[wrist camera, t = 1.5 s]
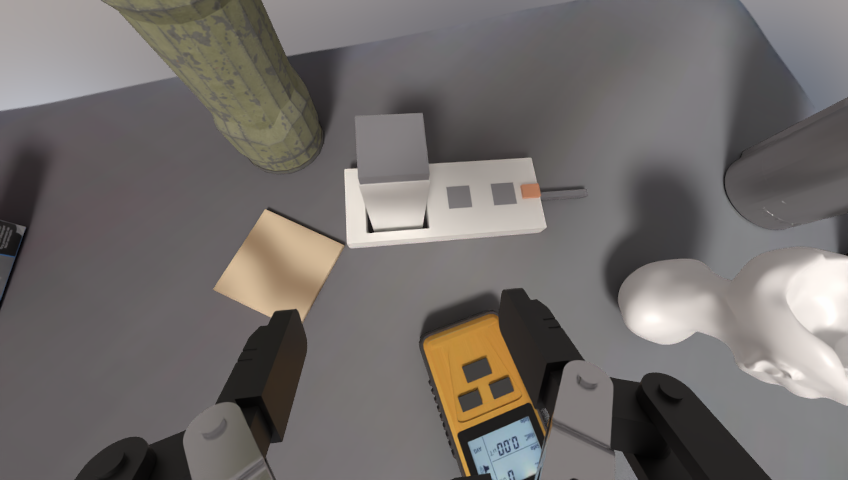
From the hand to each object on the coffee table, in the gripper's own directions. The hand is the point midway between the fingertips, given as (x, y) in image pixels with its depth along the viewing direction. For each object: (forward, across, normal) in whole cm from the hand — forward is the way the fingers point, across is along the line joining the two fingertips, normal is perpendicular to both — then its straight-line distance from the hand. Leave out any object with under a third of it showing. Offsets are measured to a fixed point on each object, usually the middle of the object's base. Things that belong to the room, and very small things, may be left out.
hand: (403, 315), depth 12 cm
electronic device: (+8, -7, +19) cm, 21 cm away
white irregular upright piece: (+11, -25, +14) cm, 31 cm away
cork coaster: (+17, +12, +8) cm, 22 cm away
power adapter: (+21, 0, +4) cm, 22 cm away
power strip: (+21, -8, +4) cm, 23 cm away
